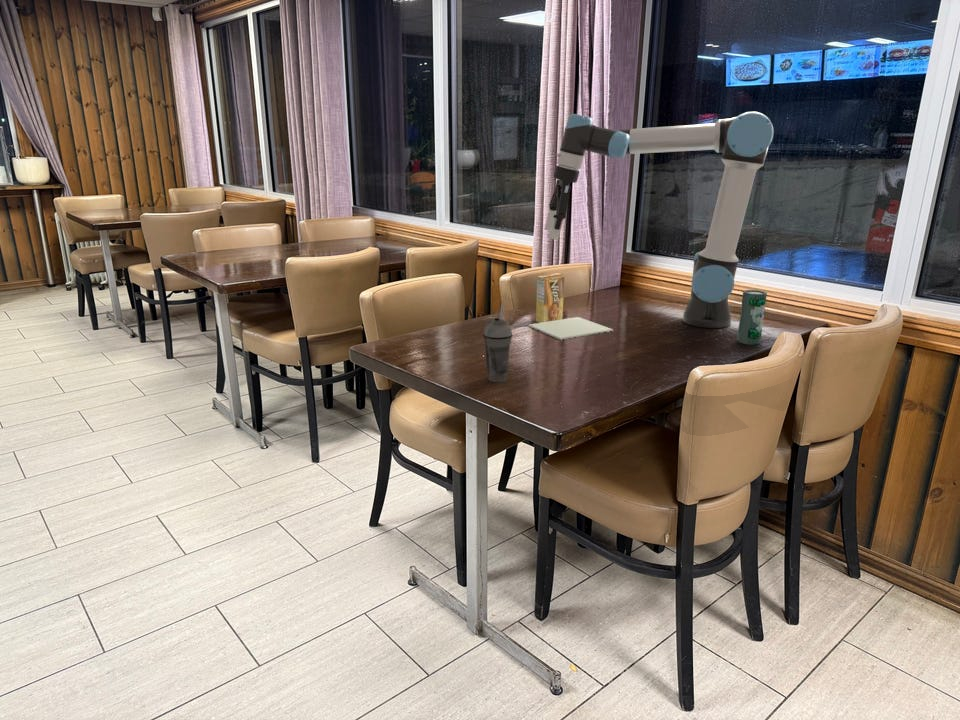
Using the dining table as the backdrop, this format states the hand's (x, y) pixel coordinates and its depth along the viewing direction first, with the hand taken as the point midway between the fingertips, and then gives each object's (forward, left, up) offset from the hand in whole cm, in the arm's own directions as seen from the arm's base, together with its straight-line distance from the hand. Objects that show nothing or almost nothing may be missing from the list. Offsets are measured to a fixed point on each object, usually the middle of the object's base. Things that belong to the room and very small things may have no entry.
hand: (550, 234), depth 212 cm
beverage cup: (-41, +44, -29) cm, 66 cm away
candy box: (0, 0, -29) cm, 29 cm away
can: (-49, -38, -29) cm, 69 cm away
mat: (-12, 0, -28) cm, 31 cm away
